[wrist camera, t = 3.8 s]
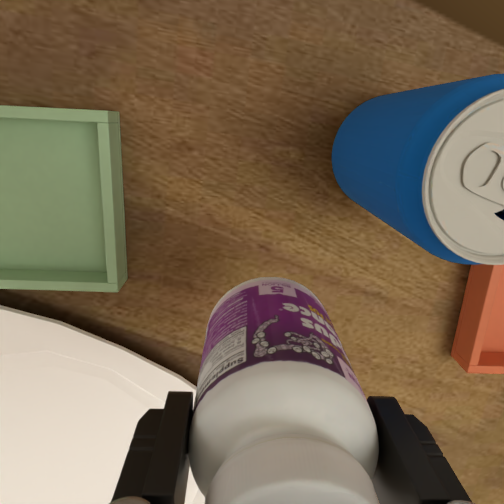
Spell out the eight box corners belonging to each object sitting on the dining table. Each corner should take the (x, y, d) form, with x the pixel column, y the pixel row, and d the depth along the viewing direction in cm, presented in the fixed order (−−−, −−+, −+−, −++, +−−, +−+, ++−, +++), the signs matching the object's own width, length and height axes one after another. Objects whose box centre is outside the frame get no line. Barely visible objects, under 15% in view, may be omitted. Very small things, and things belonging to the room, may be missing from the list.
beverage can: (403, 222, 25) (539, 303, 14) (310, 183, 24) (374, 236, 13) (456, 122, 24) (662, 122, 12) (359, 76, 23) (482, 29, 11)
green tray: (-67, 102, 22) (-98, 100, 20) (119, 111, 23) (107, 110, 21) (-36, 273, 25) (-60, 287, 23) (127, 278, 26) (118, 292, 24)
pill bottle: (353, 311, 17) (479, 525, 8) (284, 398, 19) (327, 665, 10) (248, 248, 16) (260, 415, 7) (183, 345, 18) (124, 589, 9)
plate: (141, 610, 35) (134, 647, 33) (-149, 513, 31) (-184, 548, 29) (285, 405, 29) (289, 433, 27) (-53, 249, 25) (-86, 264, 22)
